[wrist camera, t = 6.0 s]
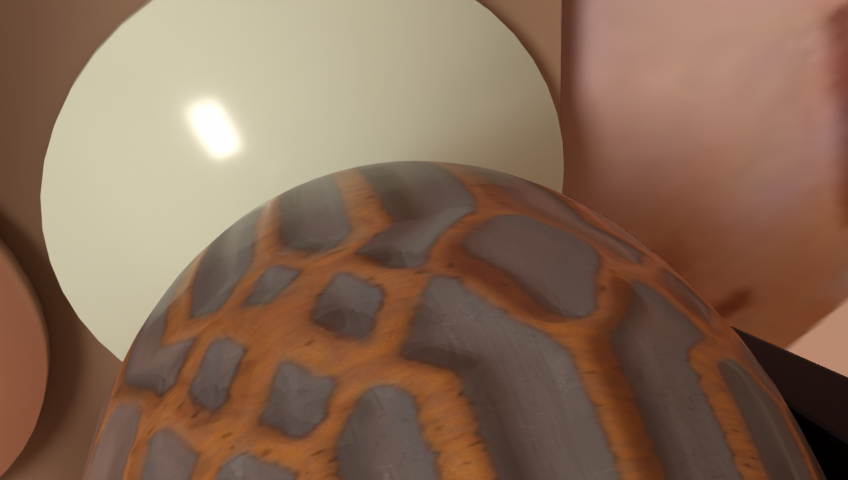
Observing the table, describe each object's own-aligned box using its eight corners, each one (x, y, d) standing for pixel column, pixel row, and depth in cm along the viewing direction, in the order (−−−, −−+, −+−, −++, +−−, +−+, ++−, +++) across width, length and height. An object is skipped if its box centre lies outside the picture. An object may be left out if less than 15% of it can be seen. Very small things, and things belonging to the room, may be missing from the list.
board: (536, -212, 11) (564, -213, 10) (540, 344, 18) (556, 371, 17) (-1091, 3, 7) (-1246, 29, 7) (-307, 591, 14) (-336, 639, 13)
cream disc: (551, -98, 11) (568, -93, 10) (549, 327, 16) (561, 344, 15) (-65, 4, 9) (-79, 15, 9) (152, 441, 14) (151, 464, 14)
